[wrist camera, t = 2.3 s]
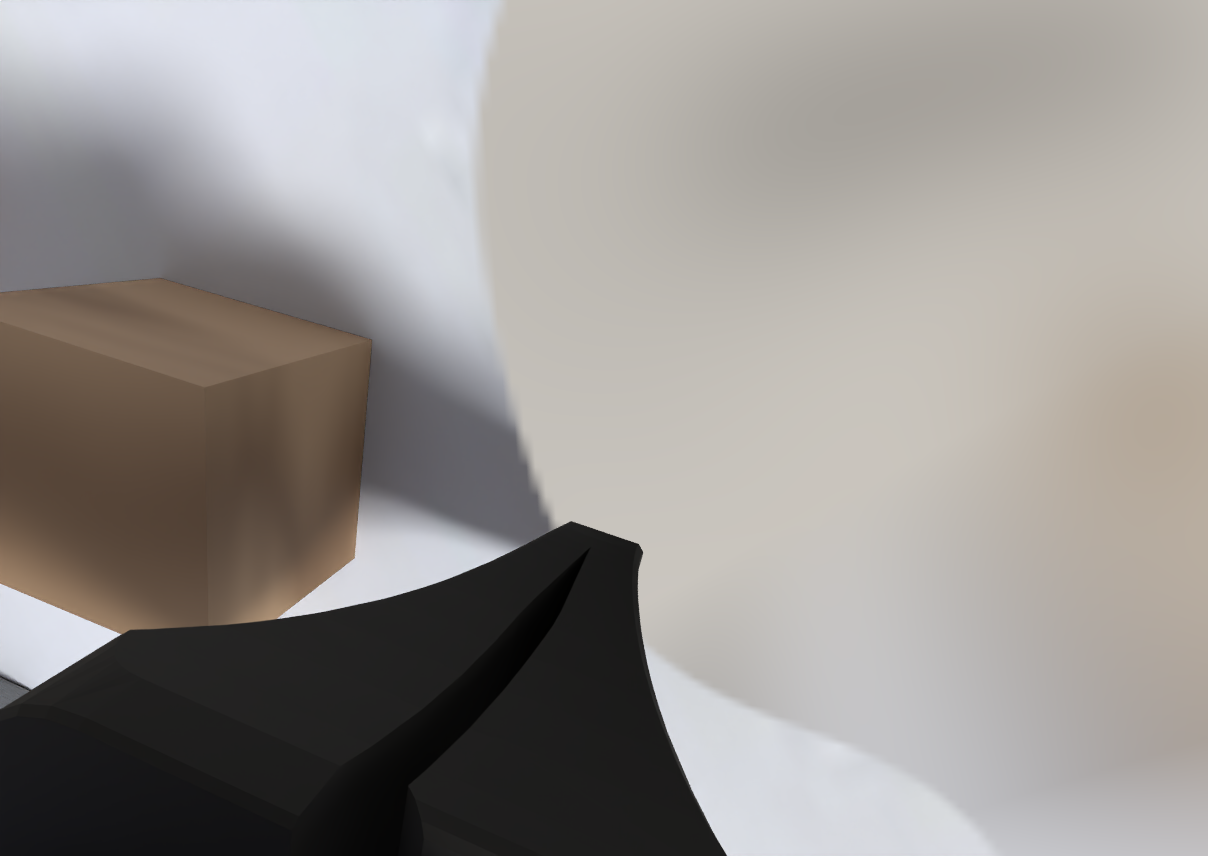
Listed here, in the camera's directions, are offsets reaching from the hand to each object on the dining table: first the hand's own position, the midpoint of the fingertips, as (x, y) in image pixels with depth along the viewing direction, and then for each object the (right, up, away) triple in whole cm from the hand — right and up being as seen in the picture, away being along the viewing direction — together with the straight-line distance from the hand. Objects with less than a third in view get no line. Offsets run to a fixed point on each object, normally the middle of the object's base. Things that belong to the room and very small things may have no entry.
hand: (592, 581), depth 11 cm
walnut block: (-7, +3, +3) cm, 8 cm away
